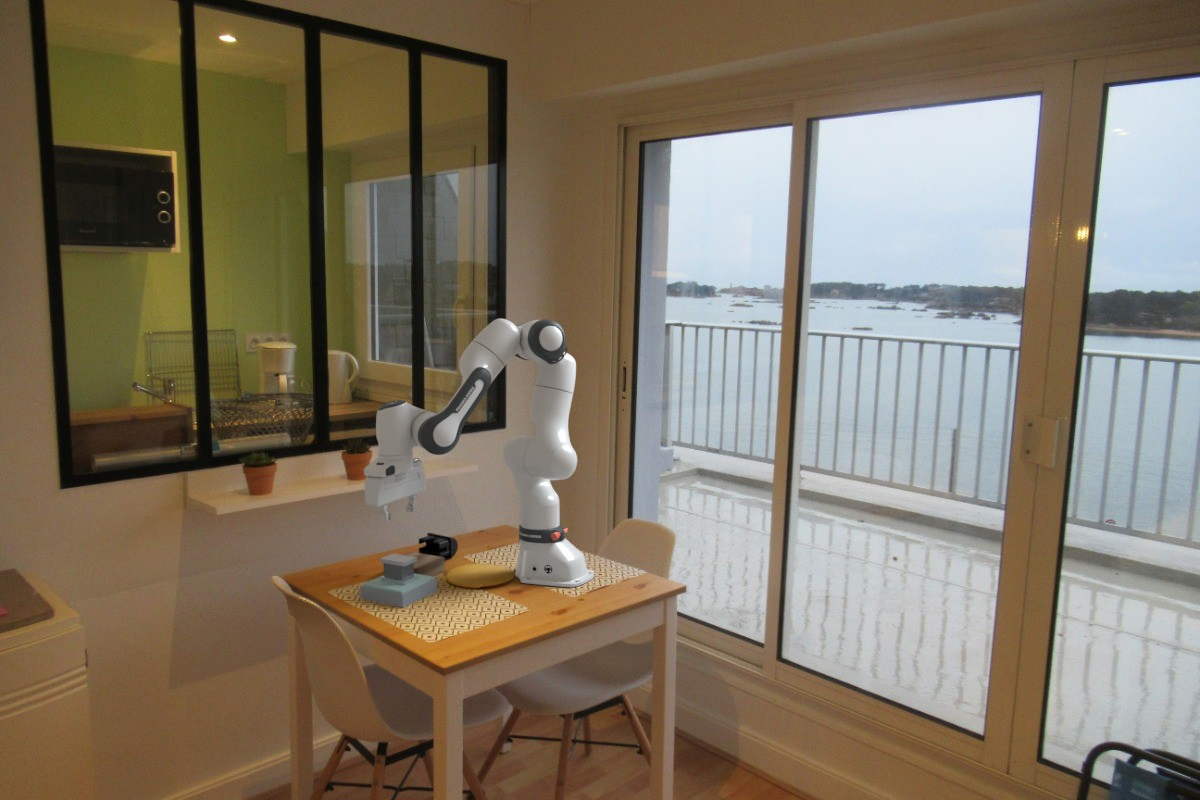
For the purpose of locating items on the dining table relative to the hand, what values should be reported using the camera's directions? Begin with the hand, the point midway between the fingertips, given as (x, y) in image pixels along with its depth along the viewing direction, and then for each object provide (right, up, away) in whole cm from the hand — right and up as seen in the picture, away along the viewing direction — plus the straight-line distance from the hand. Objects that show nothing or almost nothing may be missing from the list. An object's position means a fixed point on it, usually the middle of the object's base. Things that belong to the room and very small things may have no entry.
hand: (398, 515), depth 221 cm
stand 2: (0, -21, +2) cm, 21 cm away
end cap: (+3, -18, +36) cm, 40 cm away
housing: (0, -17, +2) cm, 17 cm away
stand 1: (0, -19, +20) cm, 28 cm away
